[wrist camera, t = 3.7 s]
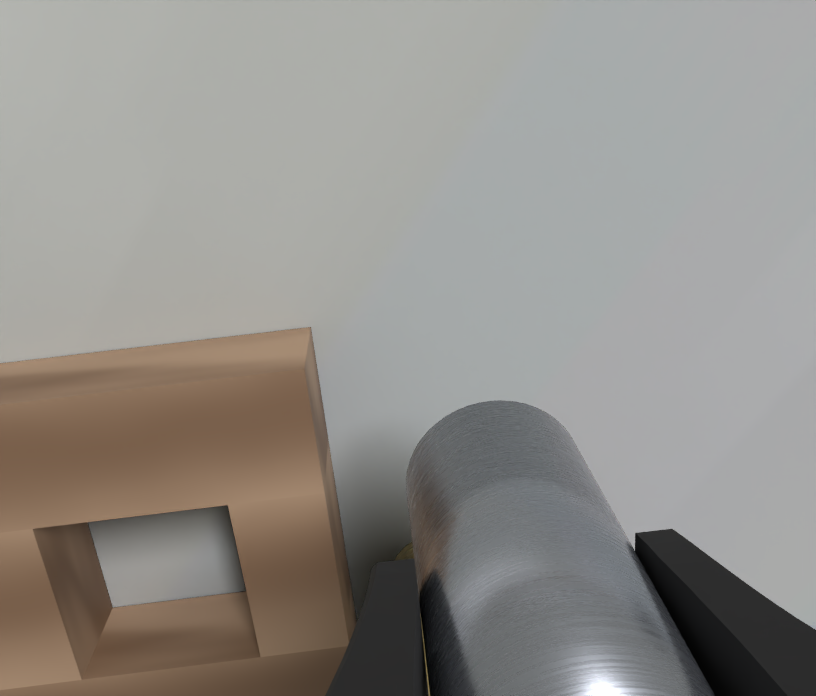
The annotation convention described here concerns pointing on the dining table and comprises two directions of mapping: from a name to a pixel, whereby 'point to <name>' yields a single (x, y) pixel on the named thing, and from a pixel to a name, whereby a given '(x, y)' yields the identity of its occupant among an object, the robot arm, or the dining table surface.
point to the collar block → (168, 492)
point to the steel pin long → (531, 568)
